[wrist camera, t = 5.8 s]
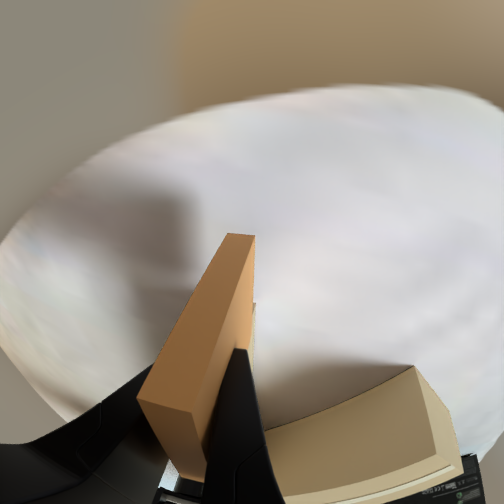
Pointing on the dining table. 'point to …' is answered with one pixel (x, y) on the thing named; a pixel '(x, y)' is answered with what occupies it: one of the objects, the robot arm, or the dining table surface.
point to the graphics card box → (452, 488)
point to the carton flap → (201, 356)
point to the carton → (368, 447)
